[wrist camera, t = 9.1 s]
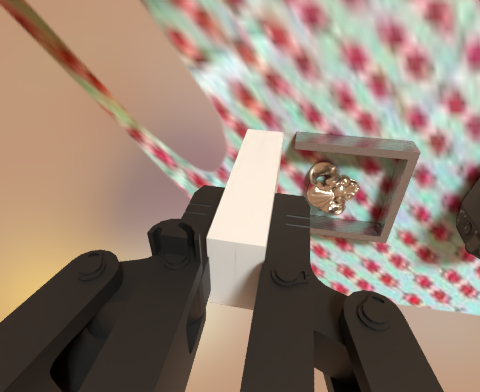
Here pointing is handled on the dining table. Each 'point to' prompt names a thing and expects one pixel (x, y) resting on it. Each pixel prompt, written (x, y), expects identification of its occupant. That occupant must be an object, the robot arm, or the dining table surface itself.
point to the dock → (397, 188)
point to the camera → (470, 220)
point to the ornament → (330, 188)
